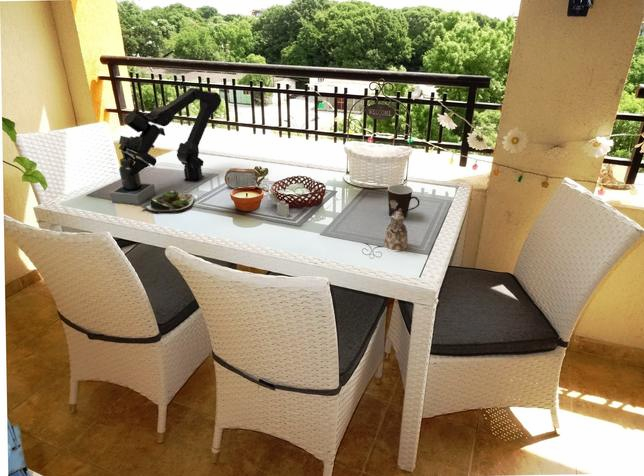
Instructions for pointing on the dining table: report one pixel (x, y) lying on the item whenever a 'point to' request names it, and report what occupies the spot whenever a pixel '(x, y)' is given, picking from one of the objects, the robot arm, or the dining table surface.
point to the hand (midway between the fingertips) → (126, 173)
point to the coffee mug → (400, 199)
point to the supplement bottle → (129, 181)
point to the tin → (240, 178)
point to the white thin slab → (280, 205)
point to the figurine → (396, 232)
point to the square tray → (133, 194)
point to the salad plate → (170, 203)
